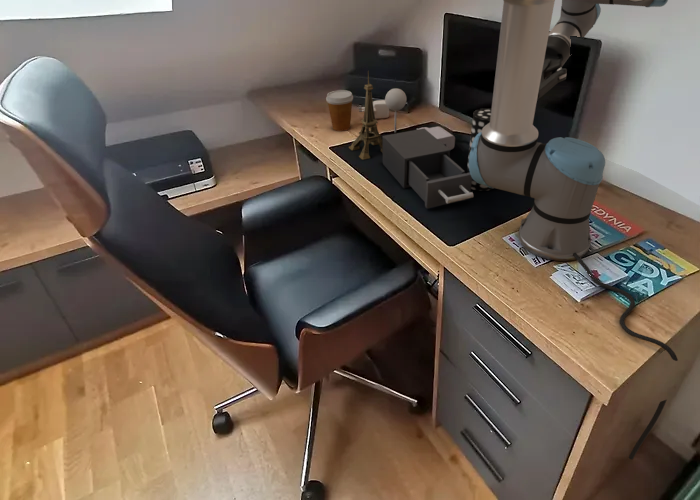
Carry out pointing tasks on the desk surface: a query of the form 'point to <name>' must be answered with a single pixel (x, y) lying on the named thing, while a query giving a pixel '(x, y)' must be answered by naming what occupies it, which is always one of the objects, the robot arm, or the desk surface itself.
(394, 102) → the lollipop
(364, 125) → the eiffel tower
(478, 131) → the white-spotted black cylinder
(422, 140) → the cabinet
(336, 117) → the disposable coffee cup
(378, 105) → the power adapter
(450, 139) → the charger
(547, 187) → the robot arm
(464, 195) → the drawer
